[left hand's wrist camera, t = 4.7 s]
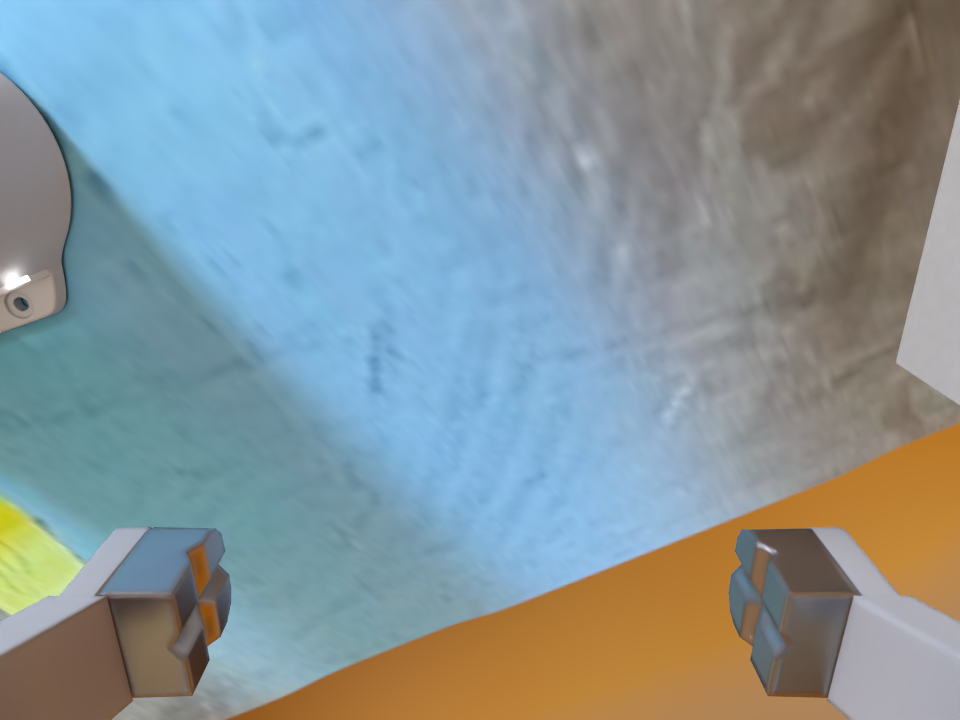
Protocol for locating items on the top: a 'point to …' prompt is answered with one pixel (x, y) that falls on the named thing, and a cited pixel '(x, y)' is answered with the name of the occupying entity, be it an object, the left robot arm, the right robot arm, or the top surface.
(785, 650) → the left robot arm
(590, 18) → the top surface
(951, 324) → the bar
